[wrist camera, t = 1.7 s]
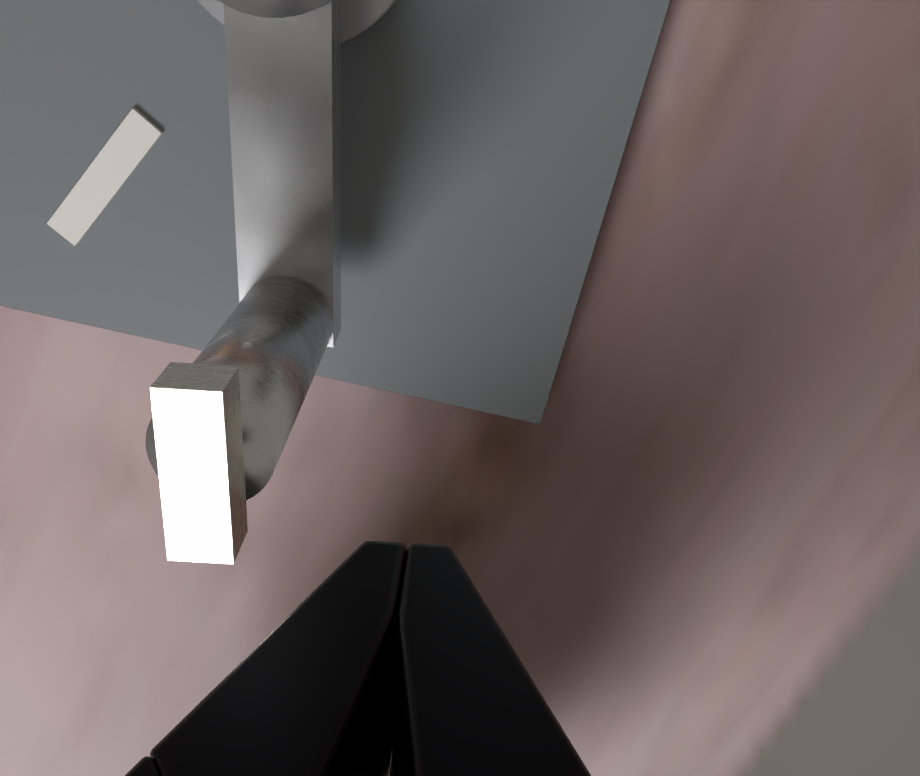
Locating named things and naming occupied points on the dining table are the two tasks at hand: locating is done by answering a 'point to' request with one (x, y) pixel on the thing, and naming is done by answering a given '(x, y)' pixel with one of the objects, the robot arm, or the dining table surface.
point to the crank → (259, 279)
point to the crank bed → (362, 178)
